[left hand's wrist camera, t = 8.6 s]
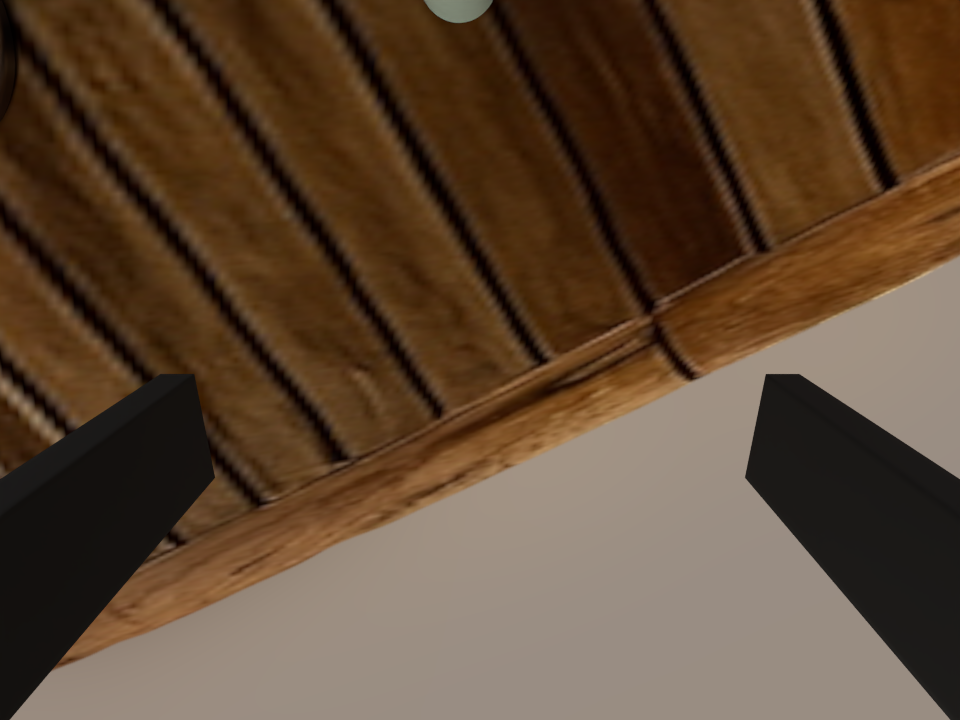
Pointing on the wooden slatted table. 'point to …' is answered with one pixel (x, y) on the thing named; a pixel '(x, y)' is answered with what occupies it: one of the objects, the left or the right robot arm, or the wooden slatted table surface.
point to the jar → (458, 9)
